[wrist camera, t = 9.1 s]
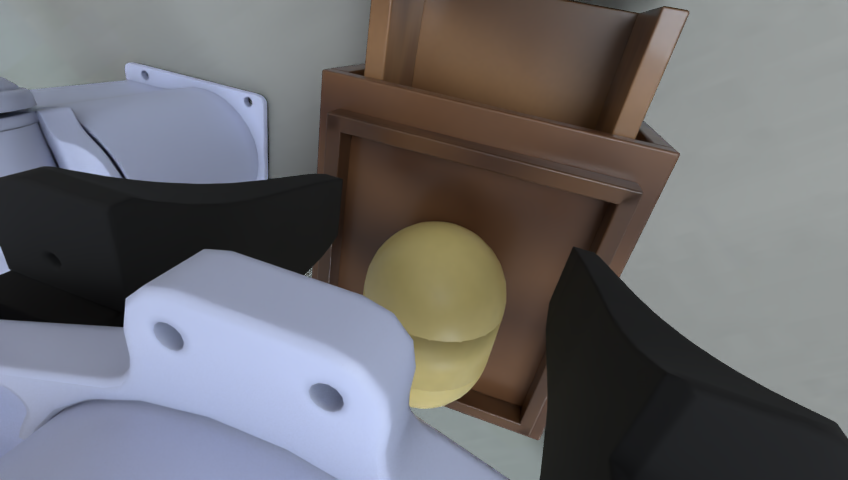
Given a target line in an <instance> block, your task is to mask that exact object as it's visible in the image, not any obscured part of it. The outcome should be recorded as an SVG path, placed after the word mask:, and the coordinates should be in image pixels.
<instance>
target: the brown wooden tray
mask: <svg viewBox="0 0 848 480" xmlns="http://www.w3.org/2000/svg"><path fill="white" fill-rule="evenodd" d="M351 135H353V136H357V137H360V138H364V139H368V140H372V141H376V142H380V143H384V144H387V145H391V146H395V147H399V148H403V149H407V150H410V151H414V152H418V153H422V154H426V155H430V156H433V157H437V158H441V159H445V160H449V161H453V162H457V163H460V164H464V165H468V166H472V167H476V168H480V169H483V170H487V171H491V172H495V173H499V174H503V175H506V176H510V177H514V178H518V179H522V180H526V181H529V182H533V183H537V184H541V185H545V186H549V187H553V188H556V189H560V190H564V191H568V192H572V193H576V194H579V195H583V196H587V197H591V198H595V199H599V200H602V201H606V202H610V204H609V206H608V209H607V211H606V213H605V216H604V218H603V220H602V222H601V225H600V227H599V229H598V232H597V234H596V236H595V239H594V241H593V243H592V246H591V248H590V250H589V251H591V252H594V253H596V254H597V255H598V256H599V257H600V258H601V259H602V260H603V261H604V262H605V263H606V264H607V265H608V266H610V263H611V261H612V259H613V257H614V255H615V253H616V251H617V249H618V246H619V244H620V242H621V240H622V238H623V236H624V234H625V232H626V229H627V227H628V225H629V223H630V221H631V219H632V217H633V215H634V213H635V210H636V208H637V206H638V204H639V202H640V200H641V198H642V196H643V191H642V189H641V188H640V186H639V184H638V183H635V182H631V181H627V180H623V179H619V178H615V177H611V176H607V175H603V174H599V173H595V172H591V171H587V170H583V169H579V168H575V167H571V166H567V165H563V164H559V163H555V162H551V161H547V160H543V159H539V158H535V157H531V156H527V155H523V154H519V153H515V152H511V151H507V150H503V149H499V148H495V147H491V146H487V145H483V144H479V143H475V142H471V141H467V140H463V139H460V138H456V137H452V136H448V135H444V134H440V133H436V132H432V131H428V130H424V129H420V128H416V127H412V126H408V125H404V124H400V123H396V122H392V121H388V120H384V119H380V118H376V117H372V116H368V115H364V114H360V113H356V112H352V111H348V110H344V109H337V110H334V111H331V112H328V113H327V122H326V139H325V156H324V173H323V174H327V175H331V176H334V177H338V178H341V179H343V186H342V197H341V207H340V218H339V228H338V236H337V238H336V239H335V240H334V242H333V243H332V245H331V246H330V247H329V249H328V250H327V251H326V253H325V254H324V255H323V256H322V258H321V259H320V260H319V261H318V275H317V280H319V281H322V282H325V283H328V284H331V285H334V286H337V287H338V279H339V268H340V256H341V245H342V234H343V223H344V212H345V200H346V189H347V178H348V167H349V156H350V144H351ZM546 399H547V364H546V352H545V354H544V356H543V359H542V361H541V363H540V365H539V368H538V370H537V372H536V375H535V377H534V379H533V382H532V384H531V386H530V389H529V391H528V393H527V395H526V398H525V400H524V402H523V405H522V407H519V406H516V405H513V404H510V403H507V402H505V401H502V400H499V399H496V398H493V397H490V396H488V395H485V394H482V393H479V392H476V391H473V390H471V389H470V390H469V391H468V392H467V393H466V394H464V395H463V396H462V397H461V398H459V399H457V400H455V401H453V402H451V403H449V404H447V405H445V406H446V407H449V408H451V409H454V410H457V411H460V412H462V413H465V414H468V415H471V416H473V417H476V418H479V419H482V420H484V421H487V422H490V423H493V424H496V425H498V426H501V427H504V428H507V429H509V430H512V431H515V432H518V433H520V434H523V435H526V436H529V435H530V433H531V431H532V429H533V427H534V425H535V423H536V420H537V418H538V416H539V414H540V412H541V410H542V408H543V406H544V403H545V401H546Z"/></svg>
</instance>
